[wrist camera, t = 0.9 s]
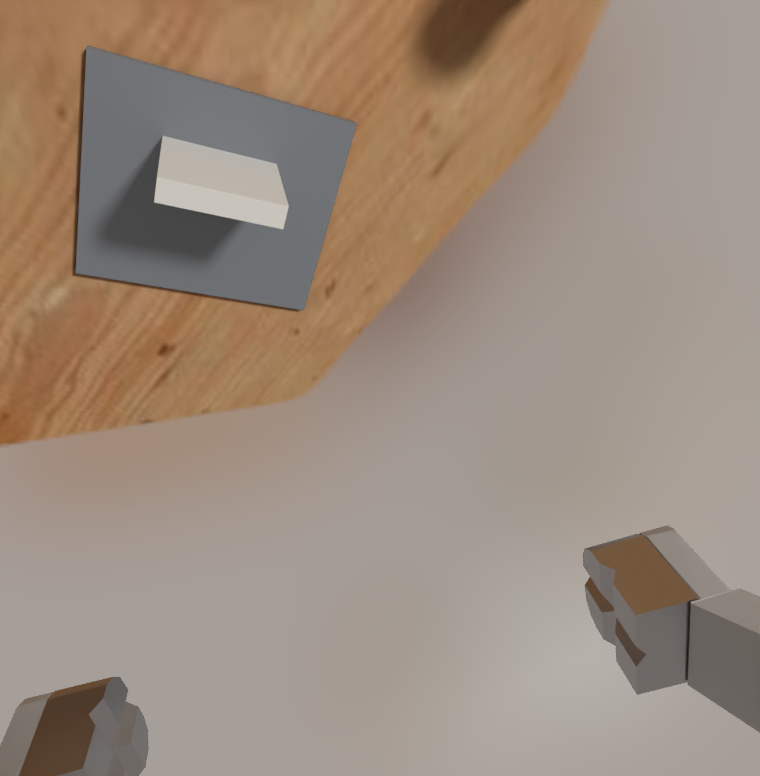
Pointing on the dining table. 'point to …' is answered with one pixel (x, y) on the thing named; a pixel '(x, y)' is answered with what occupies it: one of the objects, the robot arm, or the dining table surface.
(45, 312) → the dining table surface
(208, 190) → the tile
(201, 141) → the mat
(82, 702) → the robot arm
